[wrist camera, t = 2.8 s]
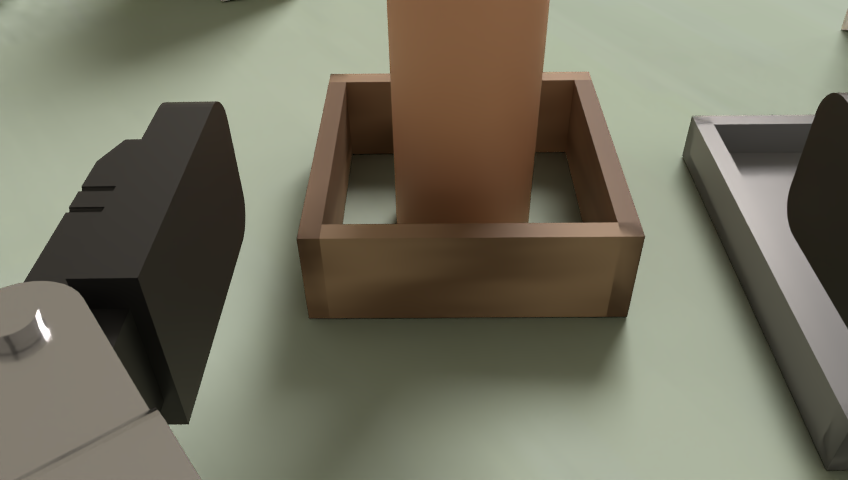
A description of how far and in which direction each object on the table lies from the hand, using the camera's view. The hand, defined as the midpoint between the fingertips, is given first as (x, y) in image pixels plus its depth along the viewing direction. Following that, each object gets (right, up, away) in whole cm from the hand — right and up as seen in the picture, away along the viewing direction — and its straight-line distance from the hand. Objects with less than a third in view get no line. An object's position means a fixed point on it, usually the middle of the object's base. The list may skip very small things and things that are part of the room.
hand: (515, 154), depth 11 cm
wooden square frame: (0, -1, +15) cm, 15 cm away
